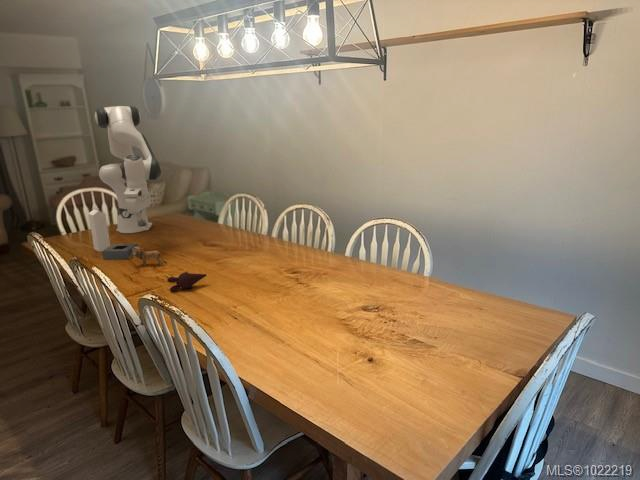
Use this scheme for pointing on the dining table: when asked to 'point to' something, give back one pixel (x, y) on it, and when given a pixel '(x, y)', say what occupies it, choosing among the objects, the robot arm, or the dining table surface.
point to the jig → (119, 251)
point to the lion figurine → (147, 255)
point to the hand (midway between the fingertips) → (141, 218)
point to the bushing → (143, 220)
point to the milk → (99, 229)
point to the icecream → (185, 280)
